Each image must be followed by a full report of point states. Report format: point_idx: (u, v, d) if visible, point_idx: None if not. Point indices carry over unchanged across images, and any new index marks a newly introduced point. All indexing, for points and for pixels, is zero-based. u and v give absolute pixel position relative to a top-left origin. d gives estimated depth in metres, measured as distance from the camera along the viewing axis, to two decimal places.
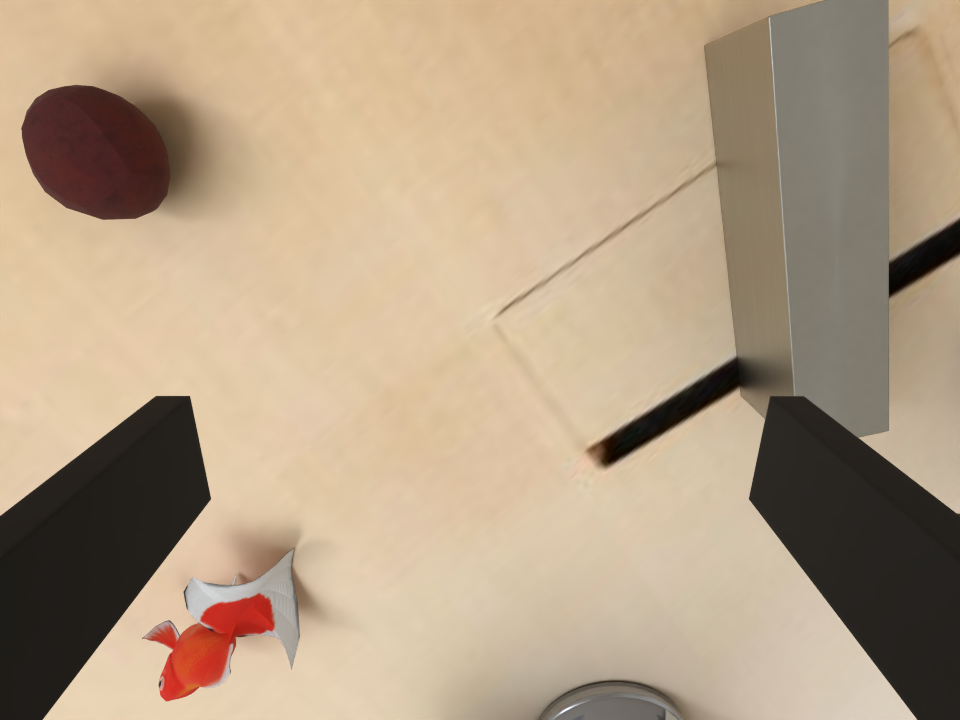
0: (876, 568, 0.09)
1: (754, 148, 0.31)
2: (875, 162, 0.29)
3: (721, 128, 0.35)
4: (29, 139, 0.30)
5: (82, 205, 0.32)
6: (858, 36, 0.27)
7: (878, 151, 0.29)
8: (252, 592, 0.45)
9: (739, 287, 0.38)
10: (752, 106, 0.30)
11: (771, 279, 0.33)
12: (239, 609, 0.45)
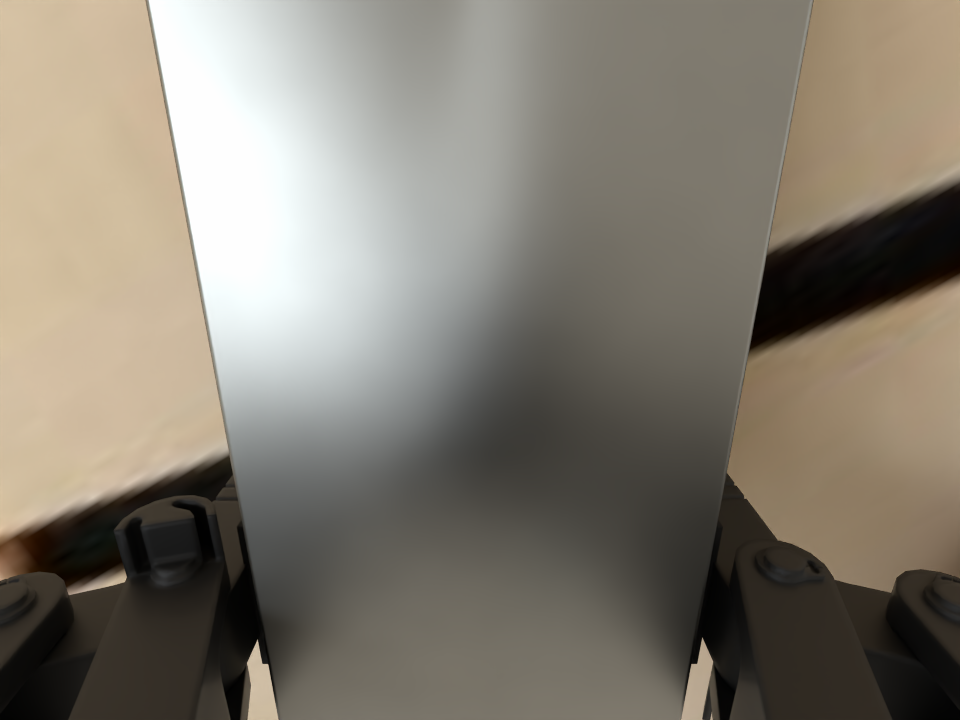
0: None
1: None
2: None
3: None
4: None
5: None
6: None
7: None
8: None
9: None
10: None
11: None
12: None
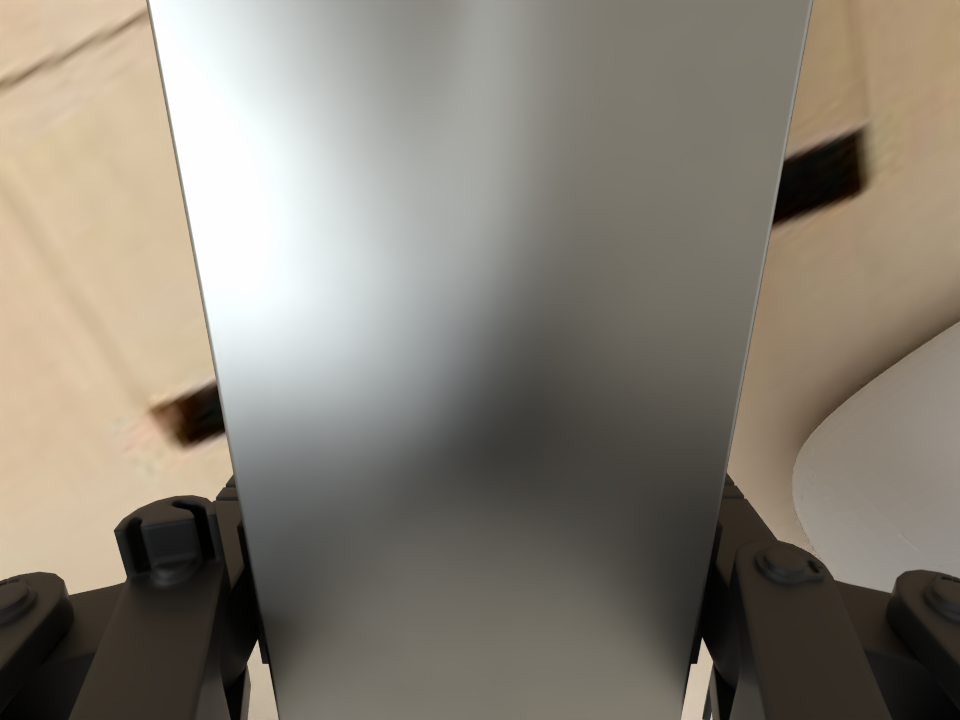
0: None
1: None
2: None
3: None
4: None
5: None
6: None
7: None
8: None
9: None
10: None
11: None
12: None
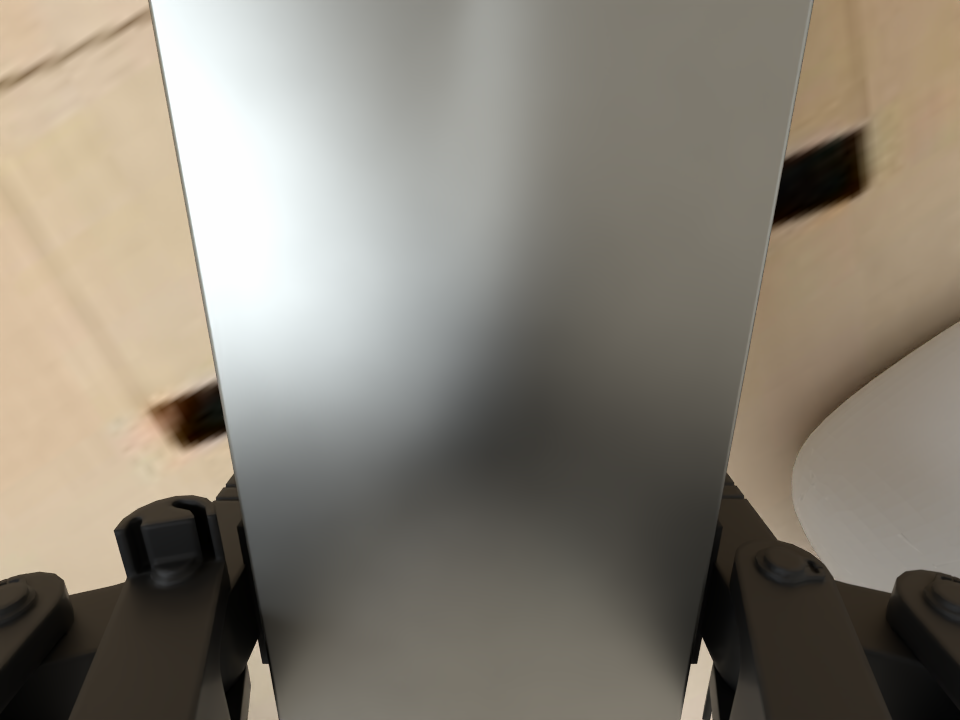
0: None
1: None
2: None
3: None
4: None
5: None
6: None
7: None
8: None
9: None
10: None
11: None
12: None
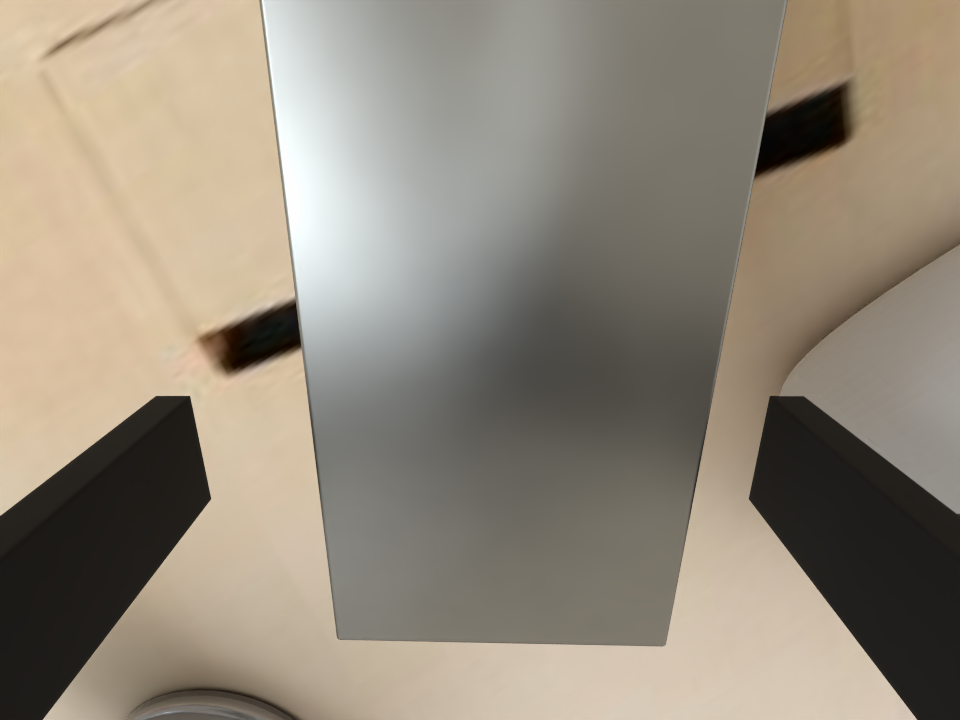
0: (875, 568, 0.09)
1: None
2: None
3: None
4: None
5: None
6: None
7: None
8: None
9: None
10: None
11: None
12: None
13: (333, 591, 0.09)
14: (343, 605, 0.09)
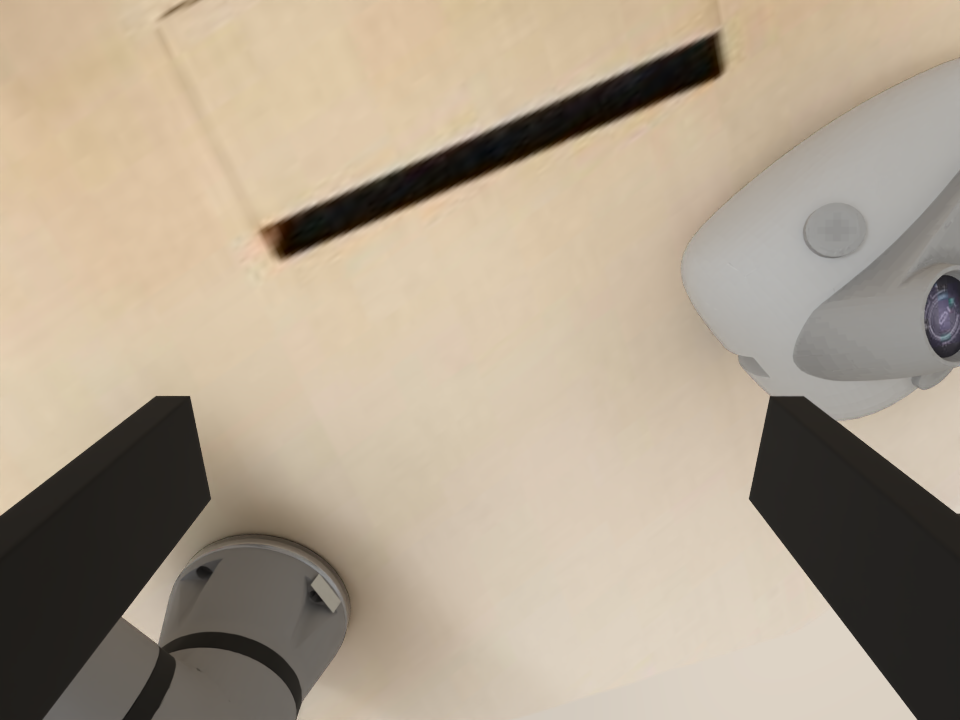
0: (876, 568, 0.09)
1: None
2: None
3: None
4: None
5: None
6: None
7: None
8: None
9: None
10: None
11: None
12: None
13: None
14: None
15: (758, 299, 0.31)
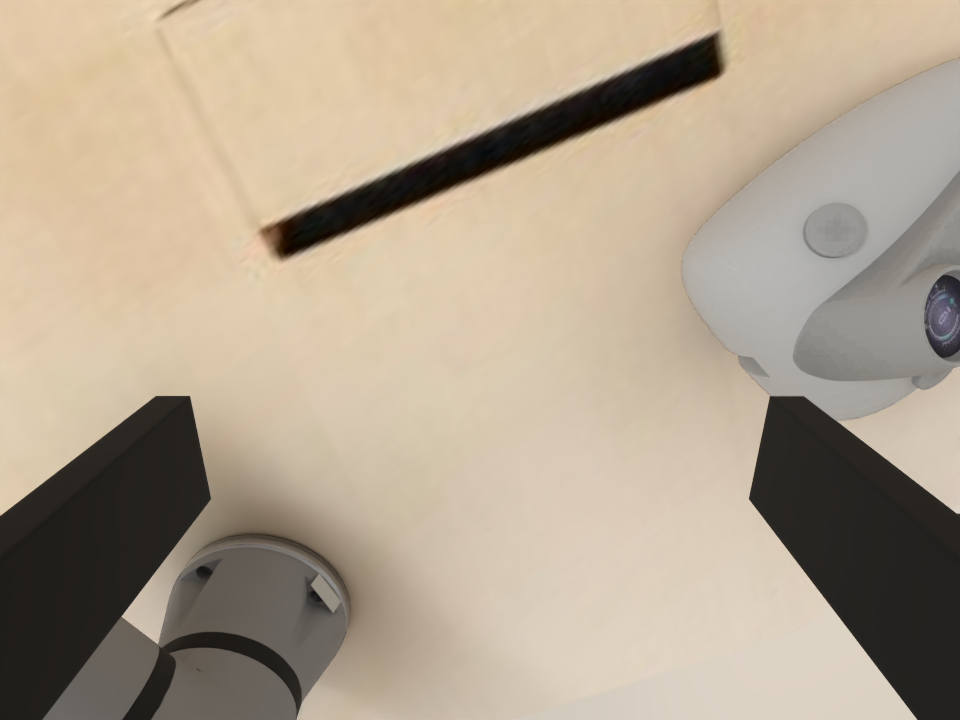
0: (876, 568, 0.09)
1: None
2: None
3: None
4: None
5: None
6: None
7: None
8: None
9: None
10: None
11: None
12: None
13: None
14: None
15: (758, 299, 0.31)
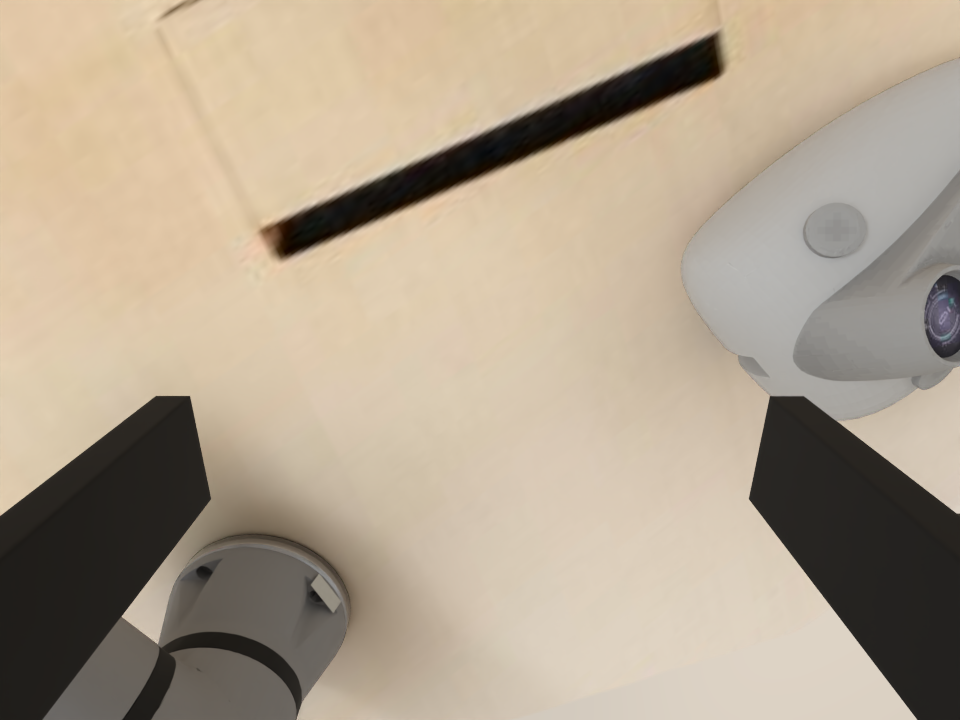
0: (876, 568, 0.09)
1: None
2: None
3: None
4: None
5: None
6: None
7: None
8: None
9: None
10: None
11: None
12: None
13: None
14: None
15: (758, 299, 0.31)
